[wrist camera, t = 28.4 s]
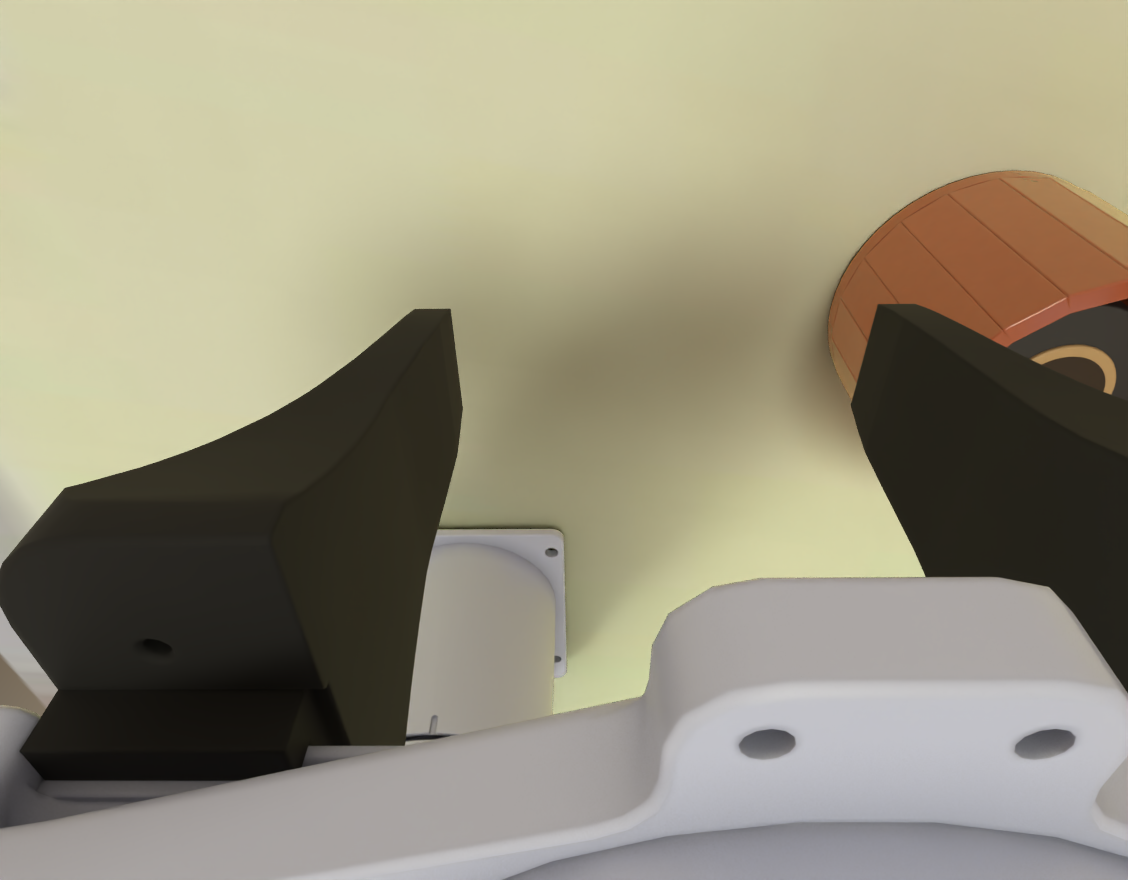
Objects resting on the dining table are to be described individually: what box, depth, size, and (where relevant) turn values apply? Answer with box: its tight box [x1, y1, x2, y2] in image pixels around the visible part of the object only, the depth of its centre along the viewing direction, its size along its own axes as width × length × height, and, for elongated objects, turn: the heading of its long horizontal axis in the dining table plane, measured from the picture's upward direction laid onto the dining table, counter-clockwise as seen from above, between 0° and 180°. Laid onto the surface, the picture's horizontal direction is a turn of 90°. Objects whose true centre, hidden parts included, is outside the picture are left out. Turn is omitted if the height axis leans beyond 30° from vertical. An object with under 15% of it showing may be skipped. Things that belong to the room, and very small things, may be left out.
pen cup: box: [828, 171, 1128, 400], centre depth 21 cm, size 9×9×7 cm
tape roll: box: [1007, 301, 1128, 401], centre depth 21 cm, size 5×5×4 cm
